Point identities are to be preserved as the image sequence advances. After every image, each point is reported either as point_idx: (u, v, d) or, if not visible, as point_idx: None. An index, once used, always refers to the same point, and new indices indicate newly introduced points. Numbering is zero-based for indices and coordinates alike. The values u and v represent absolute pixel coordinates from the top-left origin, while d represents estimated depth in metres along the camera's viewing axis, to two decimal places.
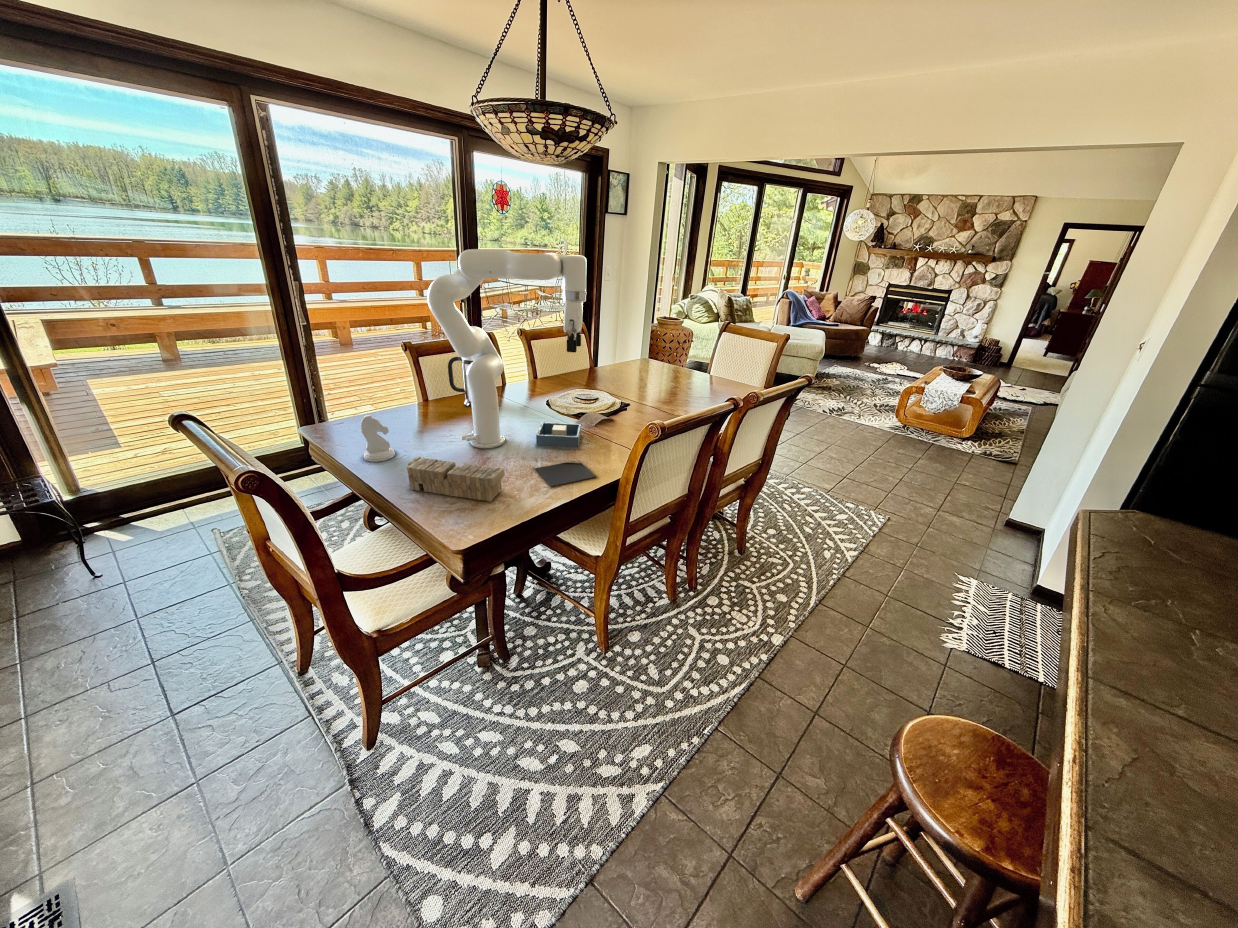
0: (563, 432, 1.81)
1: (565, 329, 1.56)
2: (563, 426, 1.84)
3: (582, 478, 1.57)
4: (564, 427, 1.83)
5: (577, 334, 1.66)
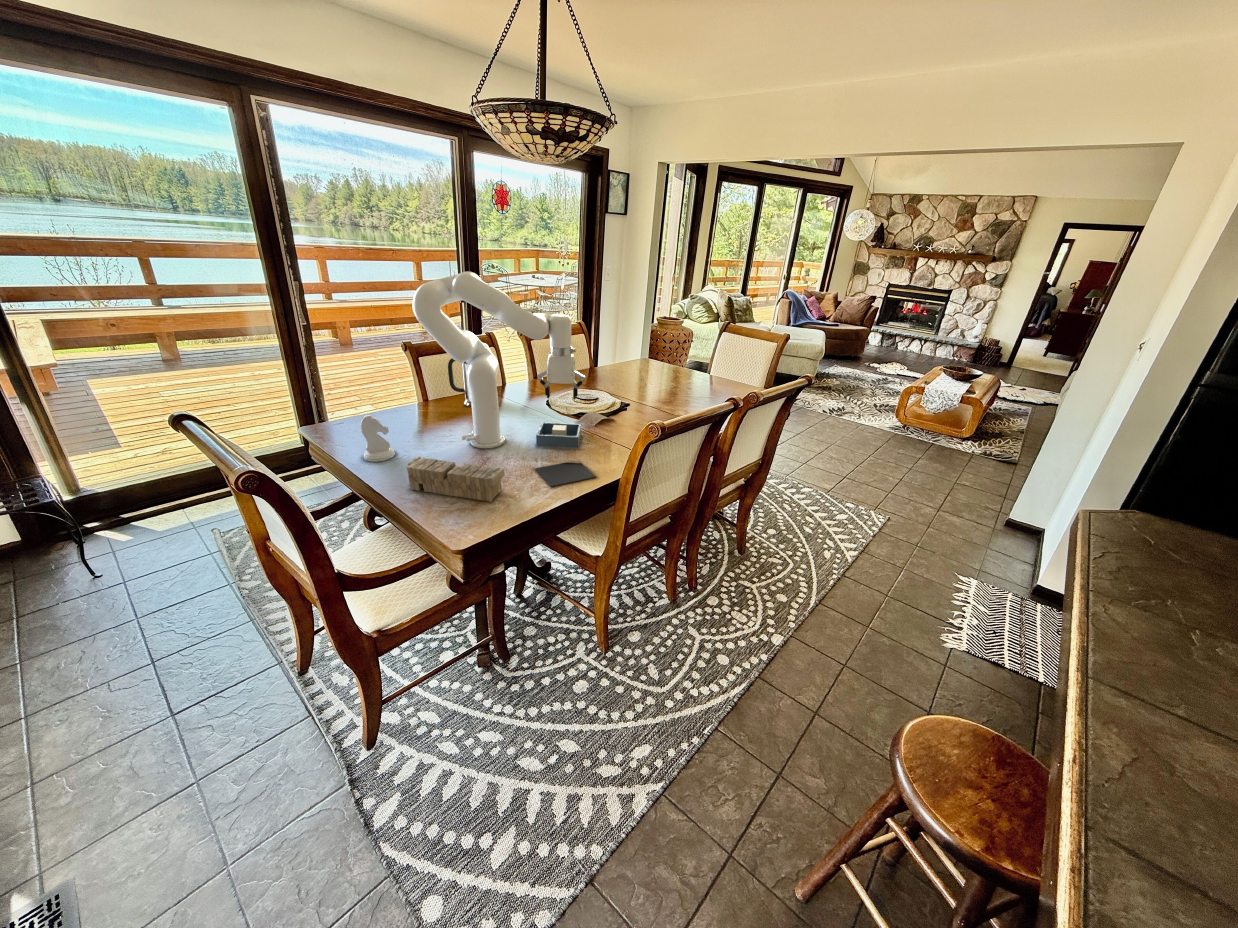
0: (563, 432, 1.81)
1: None
2: (563, 426, 1.84)
3: (582, 478, 1.57)
4: (564, 427, 1.83)
5: None
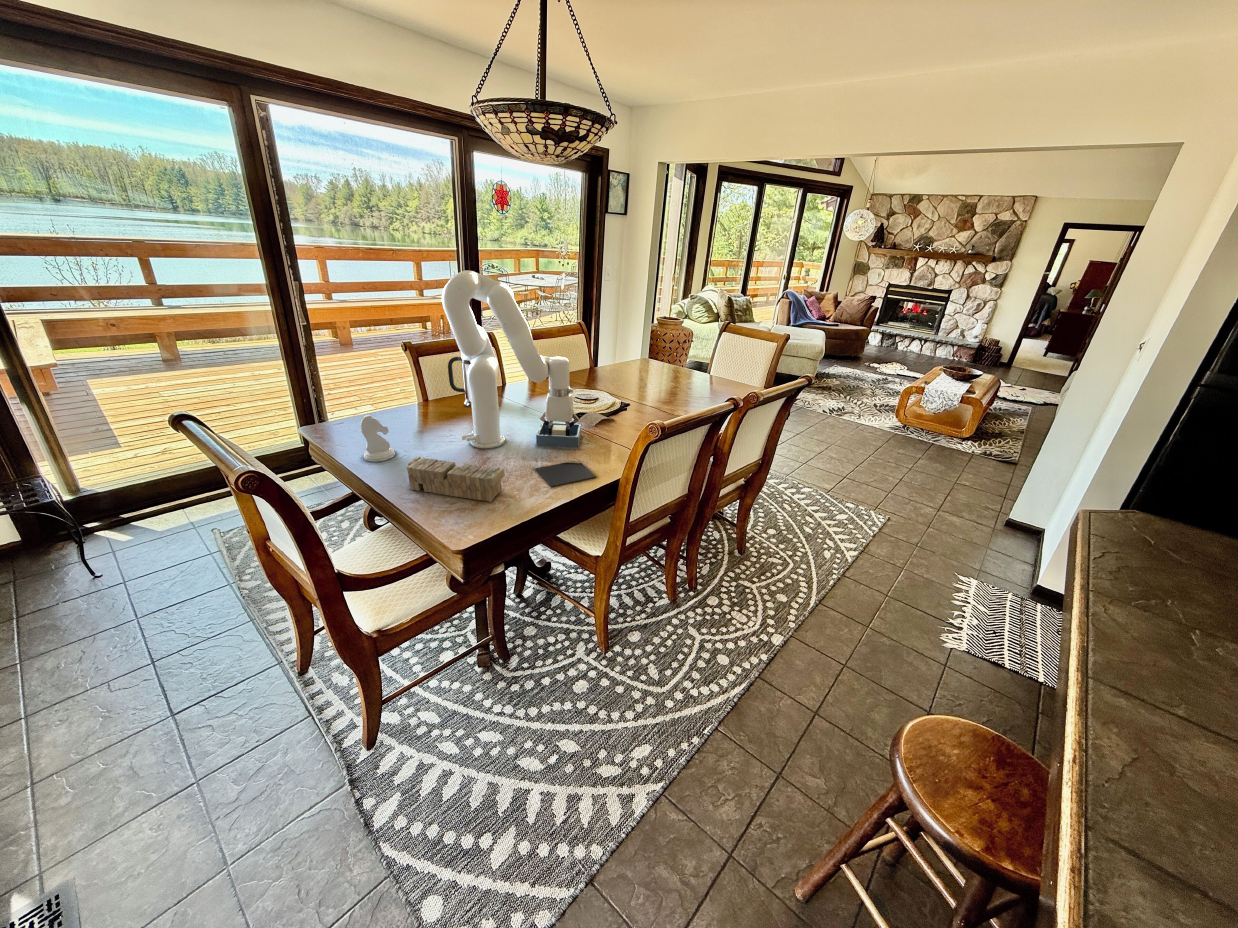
0: (563, 432, 1.81)
1: None
2: (563, 426, 1.84)
3: (582, 478, 1.57)
4: (564, 427, 1.83)
5: (566, 427, 1.82)
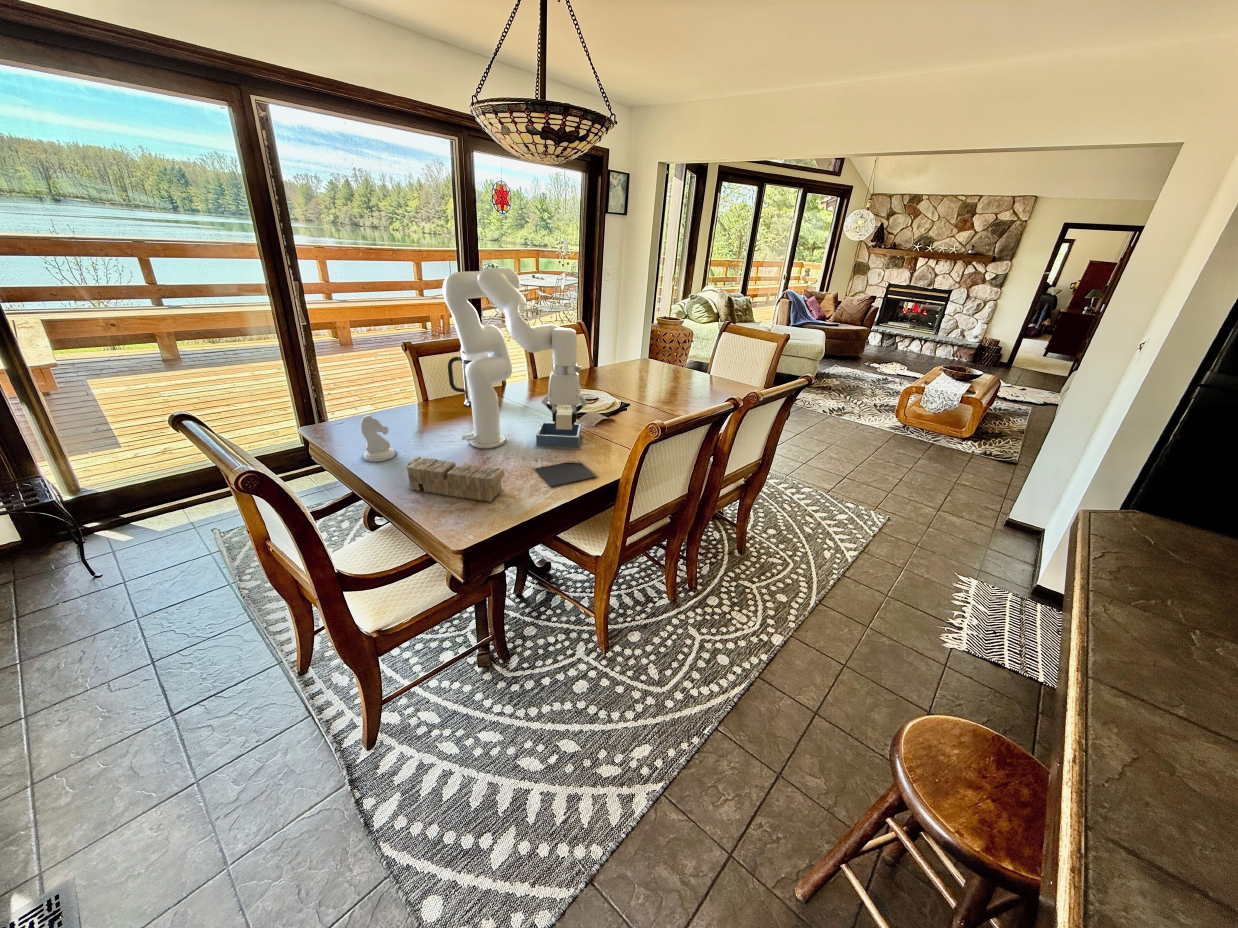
0: (569, 417, 1.54)
1: None
2: (569, 411, 1.57)
3: (582, 478, 1.57)
4: (570, 412, 1.56)
5: (572, 412, 1.56)
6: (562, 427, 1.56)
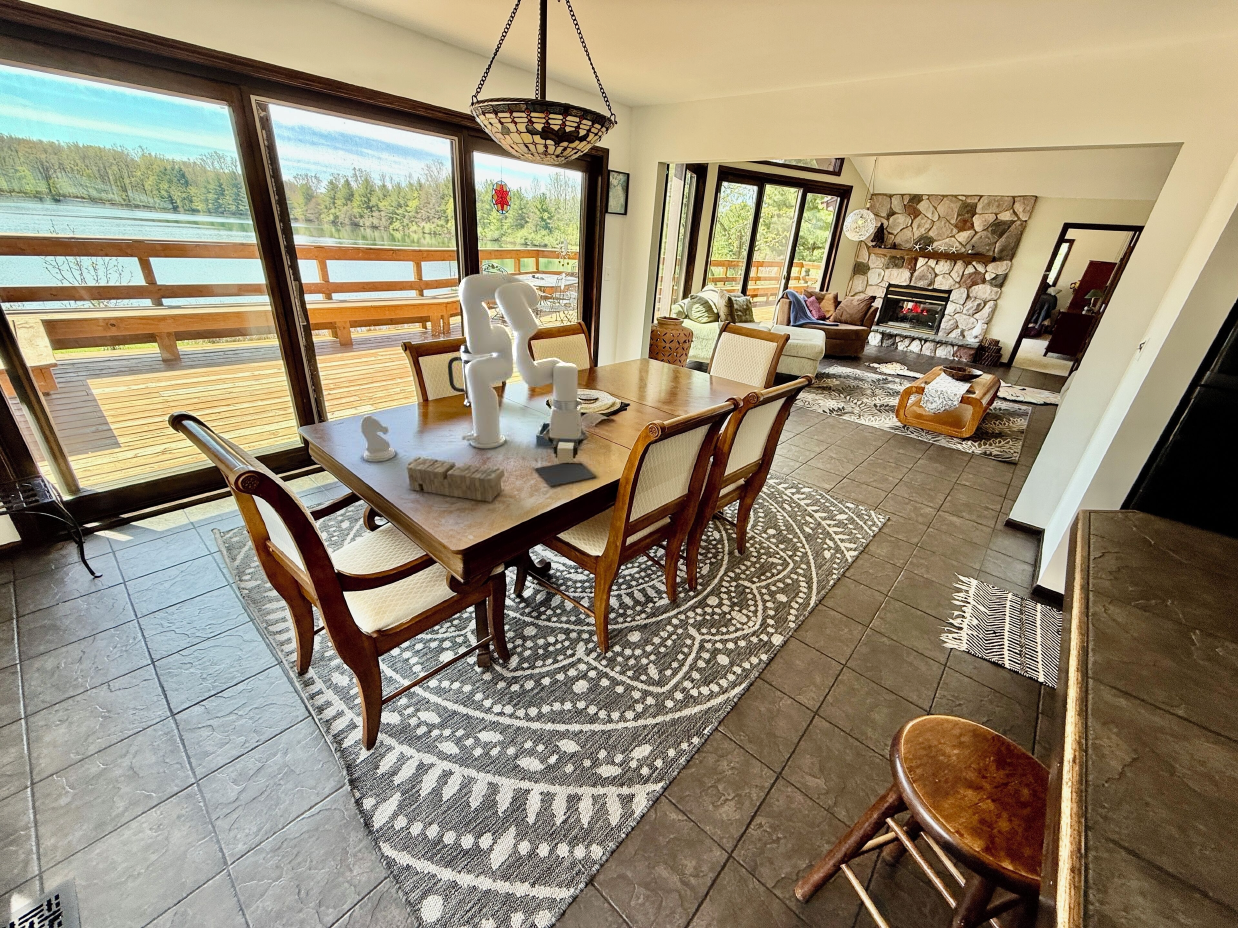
0: (570, 451, 1.55)
1: None
2: (570, 443, 1.58)
3: (582, 478, 1.57)
4: (571, 445, 1.57)
5: None
6: (563, 460, 1.56)
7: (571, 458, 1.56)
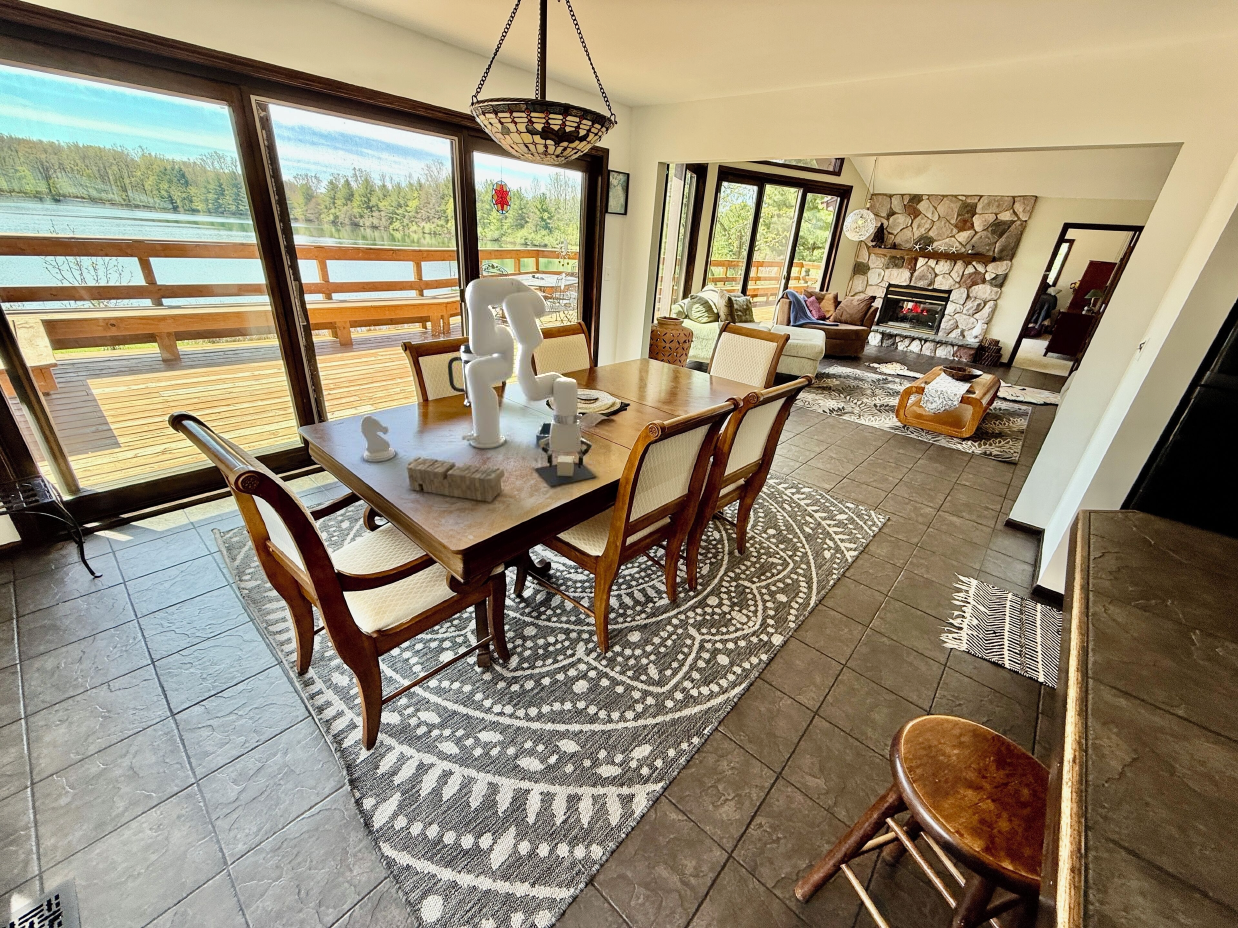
0: (570, 465, 1.57)
1: None
2: (570, 457, 1.60)
3: (582, 478, 1.57)
4: (571, 458, 1.59)
5: (579, 456, 1.58)
6: (563, 474, 1.58)
7: (571, 472, 1.58)
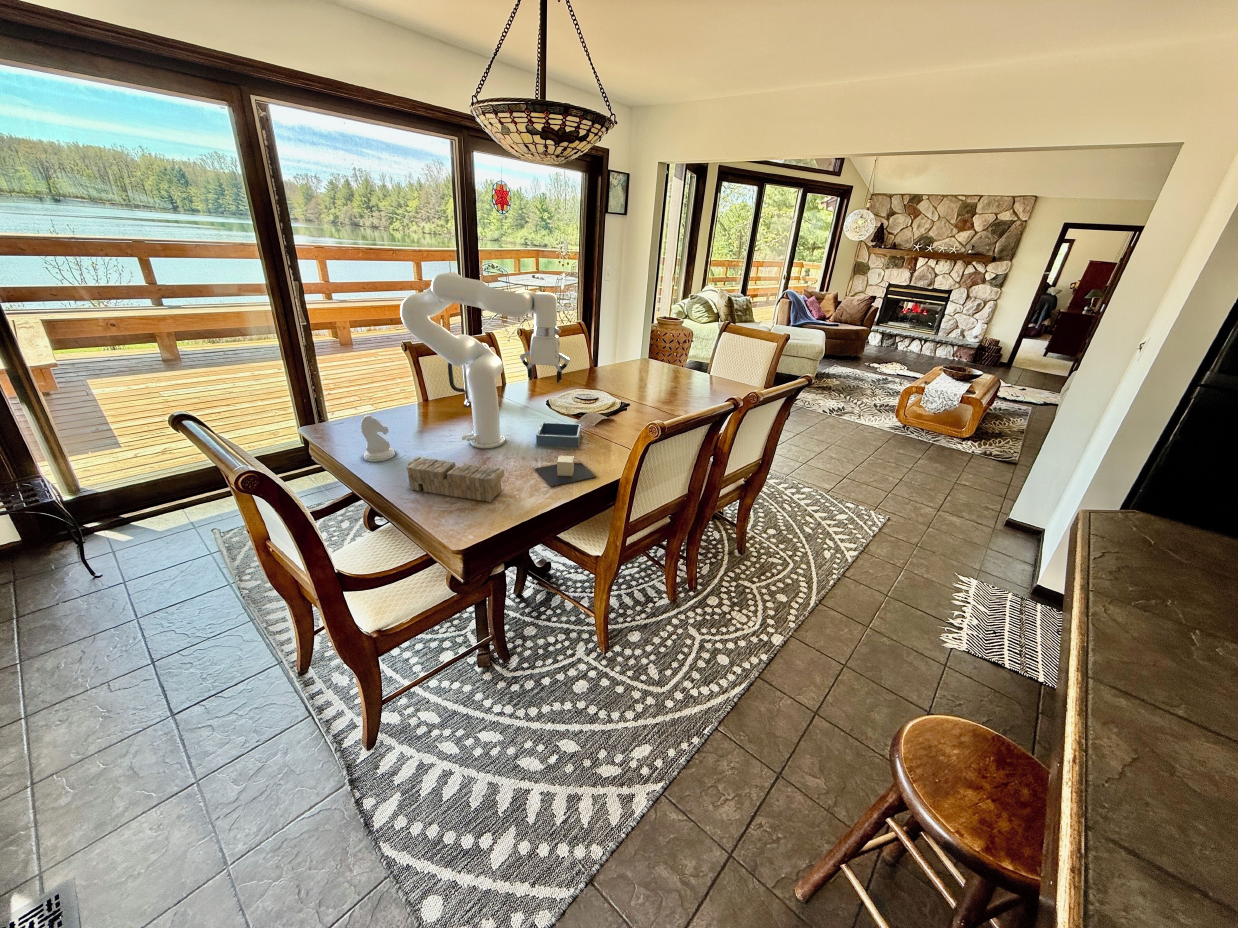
0: (570, 465, 1.57)
1: None
2: (570, 457, 1.60)
3: (582, 478, 1.57)
4: (571, 458, 1.59)
5: None
6: (563, 474, 1.58)
7: (571, 472, 1.58)
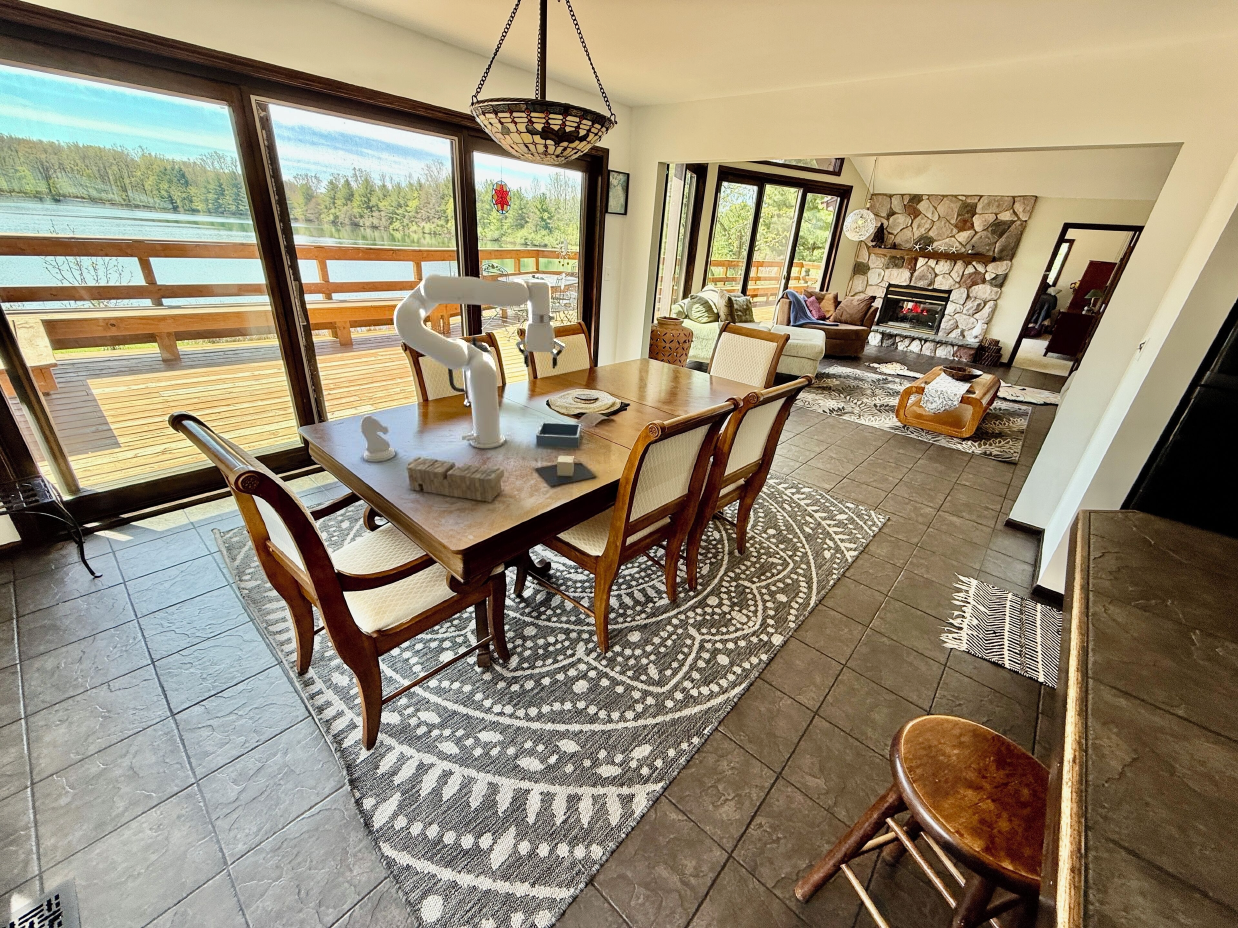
0: (570, 465, 1.57)
1: None
2: (570, 457, 1.60)
3: (582, 478, 1.57)
4: (571, 458, 1.59)
5: (553, 356, 1.72)
6: (563, 474, 1.58)
7: (571, 472, 1.58)
